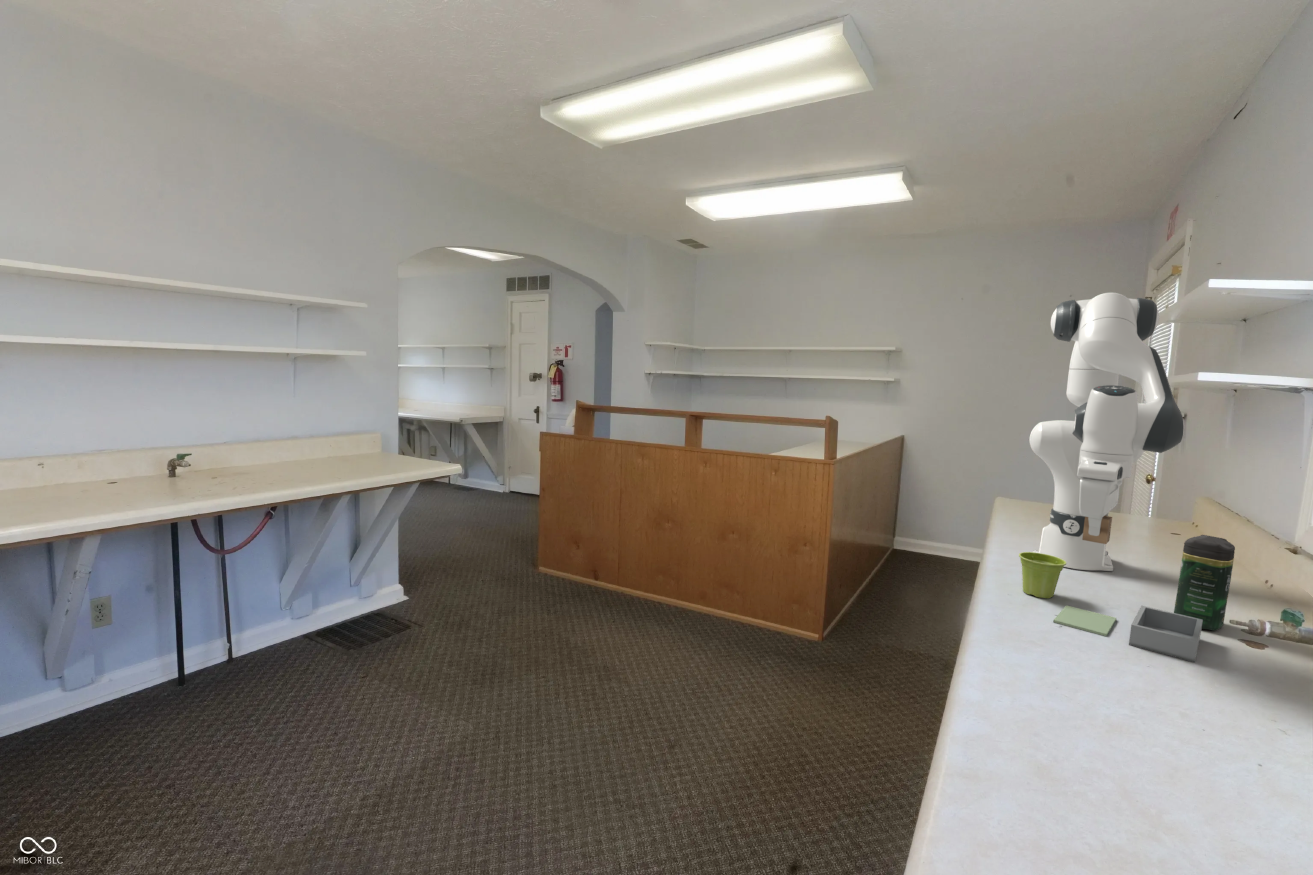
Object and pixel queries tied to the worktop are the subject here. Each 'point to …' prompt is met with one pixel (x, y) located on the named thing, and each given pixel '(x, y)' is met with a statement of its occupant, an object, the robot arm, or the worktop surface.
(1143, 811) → the worktop surface
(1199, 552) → the coffee jar
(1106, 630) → the olive mat
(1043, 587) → the plant pot
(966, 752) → the worktop surface
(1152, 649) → the grey bin
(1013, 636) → the worktop surface
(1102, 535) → the walnut block
